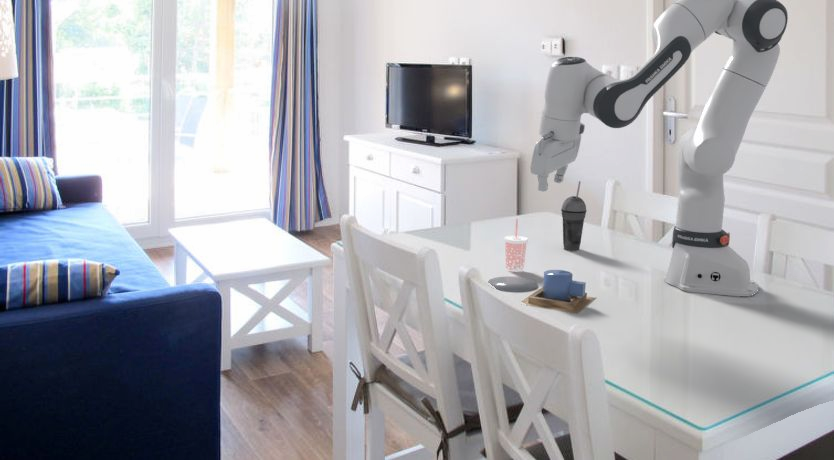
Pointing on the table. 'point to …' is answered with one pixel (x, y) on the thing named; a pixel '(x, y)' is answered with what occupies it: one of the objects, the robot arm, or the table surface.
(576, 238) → the beverage cup
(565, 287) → the blue cylinder with nub
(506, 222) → the table surface
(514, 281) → the coaster
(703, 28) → the robot arm
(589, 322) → the table surface
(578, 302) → the tray
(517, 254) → the beverage cup
